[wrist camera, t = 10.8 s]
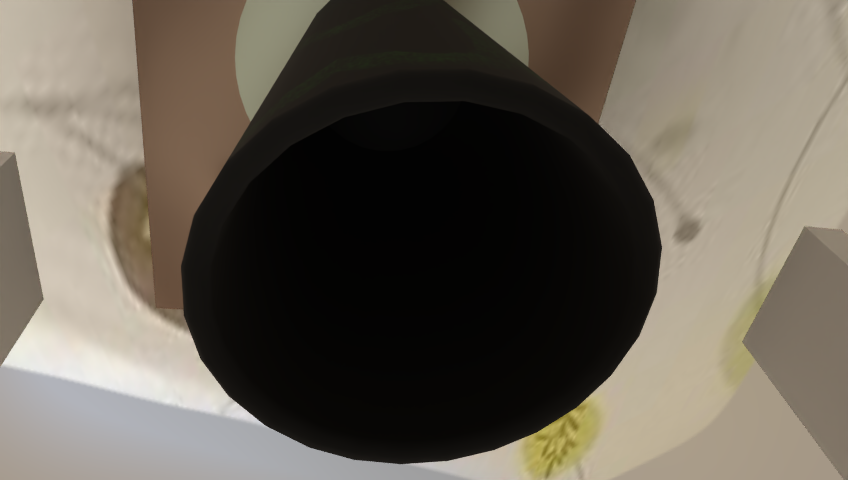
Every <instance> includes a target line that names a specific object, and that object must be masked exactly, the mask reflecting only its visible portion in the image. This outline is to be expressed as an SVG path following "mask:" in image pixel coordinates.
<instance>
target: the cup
mask: <svg viewBox="0 0 848 480" xmlns="http://www.w3.org/2000/svg"><path fill="white" fill-rule="evenodd" d="M661 251H662V245H661V239H660V234H659V228H658V223H657V217H656V212H655V206H654V201H653V198H652V196H651V195H650V193H649V191H648V189H647V187H646V185H645V183H644V181H643V180H642V178H641V176H640V174H639V172H638V170H637V168H636V166H635V164H634V163H633V161H632V159H631V157H630V155H629V154H628V153H627V152H626V151H625V150H624V149H623V148H622V147H621V146H620V145H619V144H618V143H617V142H616V141H615V140H614V139H613V138H612V137H611V136H610V135H609V134H608V133H607V132H606V131H605V130H604V129H603V128H602V127H601V126H600V125H599V124H598V123H597V122H595V121H594V120H593V119H592V118H591V117H590V116H589V115H588V114H587V113H586V112H584V111H583V110H582V109H580V108H579V107H578V106H577V105H575V104H574V103H573V102H572V101H570V100H569V99H568V98H567V97H565V96H564V95H563V94H562V93H560V92H559V91H558V90H556V89H555V88H554V87H553V86H551V85H550V84H549V83H548V82H546V81H545V80H544V79H543V78H541V77H540V76H539V75H538V74H536V73H535V72H534V71H532V70H531V69H530V68H529V67H527V66H526V65H525V64H524V63H522V62H521V61H520V60H519V59H517V58H516V57H515V56H513V55H512V54H511V53H510V52H508V51H507V50H506V49H505V48H503V47H502V46H501V45H500V44H498V43H497V42H496V41H495V40H493V39H492V38H491V37H489V36H488V35H487V34H486V33H484V32H483V31H482V30H481V29H479V28H478V27H477V26H476V25H474V24H473V23H472V22H471V21H469V20H468V19H467V18H465V17H464V16H463V15H462V14H460V13H459V12H458V11H457V10H455V9H454V8H453V7H452V6H450V5H449V4H448V3H447V2H445V1H444V0H330V1H329V2H328V3H327V4H326V5H325V6H324V7H323V8H322V9H321V10H320V11H319V12H318V13H317V14H316V16H315V17H314V19H313V20H312V22H311V24H310V25H309V27H308V29H307V30H306V32H305V34H304V35H303V37H302V39H301V40H300V42H299V43H298V45H297V47H296V48H295V50H294V52H293V53H292V55H291V57H290V58H289V60H288V61H287V63H286V65H285V66H284V68H283V70H282V71H281V73H280V75H279V76H278V78H277V80H276V81H275V83H274V84H273V86H272V88H271V89H270V91H269V93H268V94H267V96H266V98H265V99H264V101H263V102H262V104H261V106H260V107H259V109H258V111H257V112H256V114H255V116H254V117H253V119H252V121H251V122H250V124H249V125H248V127H247V129H246V130H245V132H244V134H243V135H242V137H241V139H240V140H239V142H238V143H237V145H236V147H235V148H234V150H233V152H232V153H231V155H230V157H229V158H228V160H227V162H226V163H225V165H224V166H223V168H222V170H221V171H220V173H219V175H218V176H217V178H216V180H215V181H214V183H213V184H212V186H211V188H210V189H209V191H208V193H207V194H206V196H205V198H204V199H203V201H202V203H201V204H200V206H199V207H198V209H197V211H196V212H195V214H194V216H193V220H192V224H191V228H190V232H189V236H188V240H187V244H186V248H185V252H184V256H183V260H182V264H181V277H182V293H183V309H184V317H185V319H186V322H187V325H188V327H189V330H190V332H191V335H192V338H193V340H194V343H195V345H196V348H197V351H198V353H199V356H200V358H201V360H202V361H203V363H204V364H205V365H206V367H207V368H208V369H209V371H210V372H211V373H212V375H213V376H214V377H215V379H216V380H217V381H218V383H219V384H220V385H221V387H222V388H223V389H224V391H225V392H226V393H227V394H228V396H229V397H231V398H232V399H233V400H234V401H235V402H237V403H238V404H239V405H240V406H242V407H243V408H244V409H245V410H247V411H248V412H249V413H250V414H252V415H253V416H254V417H255V418H257V419H258V420H259V421H260V422H262V423H263V424H264V425H266V426H267V427H269V428H271V429H273V430H275V431H277V432H279V433H281V434H283V435H285V436H287V437H290V438H291V439H293V440H296V441H298V442H300V443H302V444H304V445H306V446H308V447H310V448H314V449H317V450H321V451H324V452H328V453H332V454H335V455H339V456H343V457H346V458H350V459H354V460H362V461H374V462H385V463H395V464H409V463H423V462H438V461H449V460H453V459H458V458H462V457H466V456H470V455H475V454H479V453H483V452H487V451H492V450H495V449H498V448H500V447H502V446H505V445H507V444H510V443H512V442H514V441H517V440H519V439H522V438H524V437H527V436H529V435H531V434H534V433H536V432H538V431H540V430H541V429H543V428H544V427H546V426H548V425H549V424H551V423H552V422H554V421H556V420H557V419H559V418H560V417H562V416H564V415H565V414H567V413H568V412H570V411H571V410H573V409H575V408H576V407H577V406H578V405H580V404H581V403H582V402H583V401H584V400H585V399H586V398H587V397H588V396H589V395H590V394H591V393H593V392H594V391H595V390H596V389H597V388H598V387H599V386H600V385H601V384H602V383H603V382H604V381H606V380H607V379H608V378H609V377H610V376H611V375H612V373H613V372H614V371H615V369H616V368H617V366H618V365H619V364H620V362H621V361H622V359H623V358H624V357H625V355H626V354H627V352H628V351H629V350H630V348H631V347H632V345H633V344H634V342H635V341H636V340H637V338H638V337H639V335H640V333H641V330H642V328H643V325H644V323H645V320H646V318H647V315H648V313H649V311H650V308H651V306H652V303H653V301H654V298H655V296H656V293H657V285H658V276H659V268H660V259H661Z"/></svg>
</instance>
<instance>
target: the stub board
mask: <svg viewBox="0 0 848 480" xmlns="http://www.w3.org/2000/svg"><path fill="white" fill-rule="evenodd" d="M132 1H133V14H134V27H135V40H136V53H137V66H138V80H139V93H140V106H141V119H142V132H143V145H144V158H145V171H146V185H147V198H148V211H149V224H150V237H151V250H152V263H153V276H154V289H155V303H156V308H168V309H183V293H182V277H181V264H182V260H183V256H184V252H185V248H186V244H187V240H188V236H189V232H190V228H191V224H192V220H193V216H194V214H195V212H196V211H197V209H198V207H199V206H200V204H201V203H202V201H203V199H204V198H205V196H206V194H207V193H208V191H209V189H210V188H211V186H212V184H213V183H214V181H215V180H216V178H217V176H218V175H219V173H220V171H221V170H222V168H223V166H224V165H225V163H226V162H227V160H228V158H229V157H230V155H231V153H232V152H233V150H234V148H235V147H236V145H237V143H238V142H239V140H240V139H241V137H242V135H243V134H244V132H245V130H246V129H247V127H248V125H249V124H250V122H251V121H252V119H253V117H254V116H255V114H256V112H257V111H258V109H259V107H260V106H261V104H262V102H263V101H264V99H265V98H266V96H267V94H268V93H269V91H270V89H271V88H272V86H273V84H274V83H275V81H276V80H277V78H278V76H279V75H280V73H281V71H282V70H283V68H284V66H285V65H286V63H287V61H288V60H289V58H290V57H291V55H292V53H293V52H294V50H295V48H296V47H297V45H298V43H299V42H300V40H301V39H302V37H303V35H304V34H305V32H306V30H307V29H308V27H309V25H310V24H311V22H312V20H313V19H314V17H315V16H316V14H317V13H318V12H319V11H320V10H321V9H322V8H323V7H324V6H325V5H326V4H327V3H328V2H329V1H330V0H132ZM444 1H445V2H447V3H448V4H449V5H450V6H452V7H453V8H454V9H455V10H457V11H458V12H459V13H460V14H462V15H463V16H464V17H465V18H467V19H468V20H469V21H471V22H472V23H473V24H474V25H476V26H477V27H478V28H479V29H481V30H482V31H483V32H484V33H486V34H487V35H488V36H489V37H491V38H492V39H493V40H495V41H496V42H497V43H498V44H500V45H501V46H502V47H503V48H505V49H506V50H507V51H508V52H510V53H511V54H512V55H513V56H515V57H516V58H517V59H519V60H520V61H521V62H522V63H524V64H525V65H526V66H527V67H529V68H530V69H531V70H532V71H534V72H535V73H536V74H538V75H539V76H540V77H541V78H543V79H544V80H545V81H546V82H548V83H549V84H550V85H551V86H553V87H554V88H555V89H556V90H558V91H559V92H560V93H562V94H563V95H564V96H565V97H567V98H568V99H569V100H570V101H572V102H573V103H574V104H575V105H577V106H578V107H579V108H580V109H582V110H583V111H584V112H586V113H587V114H588V115H589V116H590V117H591V118H592V119H593V120H594V121H595V122H597V123H598V122H599V119H600V116H601V113H602V109H603V106H604V103H605V100H606V96H607V93H608V90H609V87H610V83H611V80H612V77H613V74H614V70H615V67H616V64H617V61H618V57H619V54H620V51H621V47H622V44H623V41H624V38H625V34H626V31H627V28H628V25H629V21H630V18H631V15H632V12H633V8H634V5H635V2H636V0H444Z"/></svg>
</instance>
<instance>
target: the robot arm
mask: <svg viewBox="0 0 848 480" xmlns="http://www.w3.org/2000/svg"><path fill="white" fill-rule="evenodd" d="M42 301H43V294H42V289H41V284H40V279H39V274H38V269H37V263H36V258H35V253H34V248H33V243H32V238H31V233H30V228H29V223H28V218H27V212H26V207H25V202H24V197H23V192H22V187H21V182H20V177H19V172H18V167H17V161H16V156H15V153H13V152H2V151H0V366H1V365H2V363H3V362H4V360H5V358H6V357H7V355H8V354H9V352H10V351H11V349H12V348H13V346H14V344H15V343H16V341H17V340H18V338H19V337H20V335H21V334H22V332H23V330H24V329H25V327H26V326H27V324H28V323H29V321H30V320H31V318H32V316H33V315H34V313H35V312H36V310H37V309H38V307H39V306H40V304H41V302H42ZM742 342H743V344H744V345H745V346H746V348H747V349H748V351H749V352H750V353H751V355H752V356H753V357H754V359H755V360H756V361H757V363H758V364H759V365H760V367H761V368H762V369H763V371H764V372H765V373H766V375H767V376H768V378H769V379H770V380H771V382H772V383H773V384H774V386H775V387H776V388H777V390H778V391H779V392H780V394H781V395H782V396H783V398H784V399H785V401H786V402H787V403H788V405H789V406H790V407H791V409H792V410H793V411H794V413H795V414H796V415H797V417H798V418H799V420H800V421H801V422H802V424H803V425H804V426H805V428H806V429H807V430H808V432H809V433H810V434H811V436H812V437H813V438H814V440H815V441H816V443H817V444H818V445H819V447H820V448H821V449H822V451H823V452H824V453H825V455H826V456H827V457H828V459H829V460H830V461H831V463H832V464H833V466H834V467H835V468H836V470H837V471H838V472H839V474H840V475H841V476H842V478H843V479H844V480H848V234H847V233H845V232H844V231H843V230H839V229H828V228H817V227H807V226H805V227H804V229H803V230H802V232H801V234H800V236H799V238H798V240H797V242H796V243H795V245H794V247H793V249H792V251H791V253H790V254H789V256H788V258H787V260H786V262H785V264H784V266H783V267H782V269H781V271H780V273H779V275H778V277H777V278H776V280H775V282H774V284H773V286H772V288H771V290H770V291H769V293H768V295H767V297H766V299H765V301H764V302H763V304H762V306H761V308H760V310H759V312H758V313H757V315H756V317H755V319H754V321H753V323H752V325H751V326H750V328H749V330H748V332H747V334H746V336H745V337H744V339H743V341H742Z"/></svg>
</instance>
